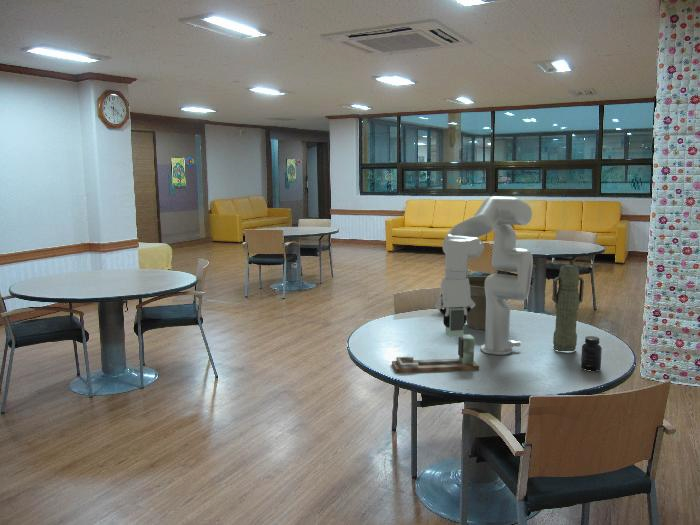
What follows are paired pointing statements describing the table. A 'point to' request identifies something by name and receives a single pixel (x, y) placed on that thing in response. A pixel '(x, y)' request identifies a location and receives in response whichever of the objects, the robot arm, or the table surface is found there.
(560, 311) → the thermos
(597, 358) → the supplement bottle
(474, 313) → the plant pot
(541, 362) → the table surface
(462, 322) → the pale green block
